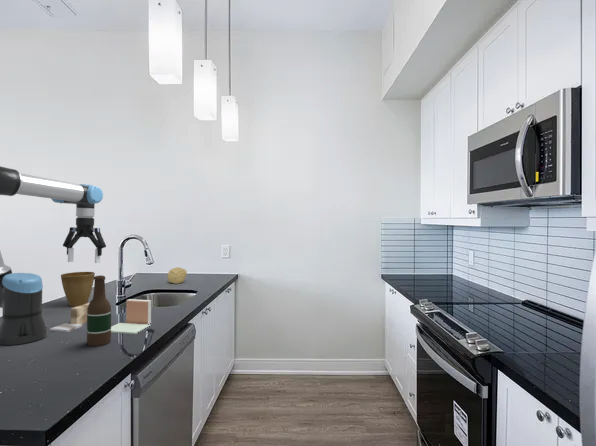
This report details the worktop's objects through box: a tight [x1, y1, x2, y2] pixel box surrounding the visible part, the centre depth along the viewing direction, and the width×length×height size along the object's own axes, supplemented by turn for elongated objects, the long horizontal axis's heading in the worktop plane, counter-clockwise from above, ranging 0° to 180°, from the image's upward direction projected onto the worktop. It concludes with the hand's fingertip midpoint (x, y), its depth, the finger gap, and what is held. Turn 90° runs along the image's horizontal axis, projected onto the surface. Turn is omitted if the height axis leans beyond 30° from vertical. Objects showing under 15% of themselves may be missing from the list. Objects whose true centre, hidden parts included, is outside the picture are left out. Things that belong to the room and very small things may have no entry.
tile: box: [125, 298, 152, 325], centre depth 157 cm, size 2×10×10 cm, turn 82°
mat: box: [111, 322, 152, 335], centre depth 150 cm, size 11×14×1 cm
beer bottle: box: [86, 274, 112, 347], centre depth 133 cm, size 8×8×24 cm
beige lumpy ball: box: [167, 266, 188, 285], centre depth 256 cm, size 11×12×11 cm
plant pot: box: [60, 271, 96, 308], centre depth 188 cm, size 15×15×16 cm
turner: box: [49, 302, 90, 333], centre depth 155 cm, size 20×8×7 cm, turn 172°
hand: (83, 262), depth 175 cm, fingers open, 13 cm apart
